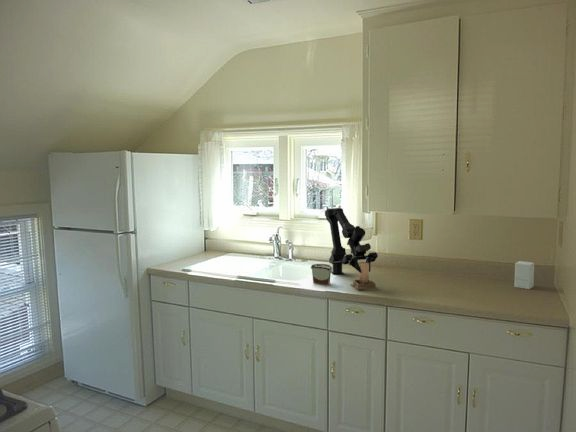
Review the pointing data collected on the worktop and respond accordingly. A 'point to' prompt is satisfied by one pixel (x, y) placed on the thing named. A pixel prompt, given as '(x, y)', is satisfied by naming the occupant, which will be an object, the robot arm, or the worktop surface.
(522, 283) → the supplement box
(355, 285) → the walnut holder
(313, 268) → the food container
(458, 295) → the worktop surface
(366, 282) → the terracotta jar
